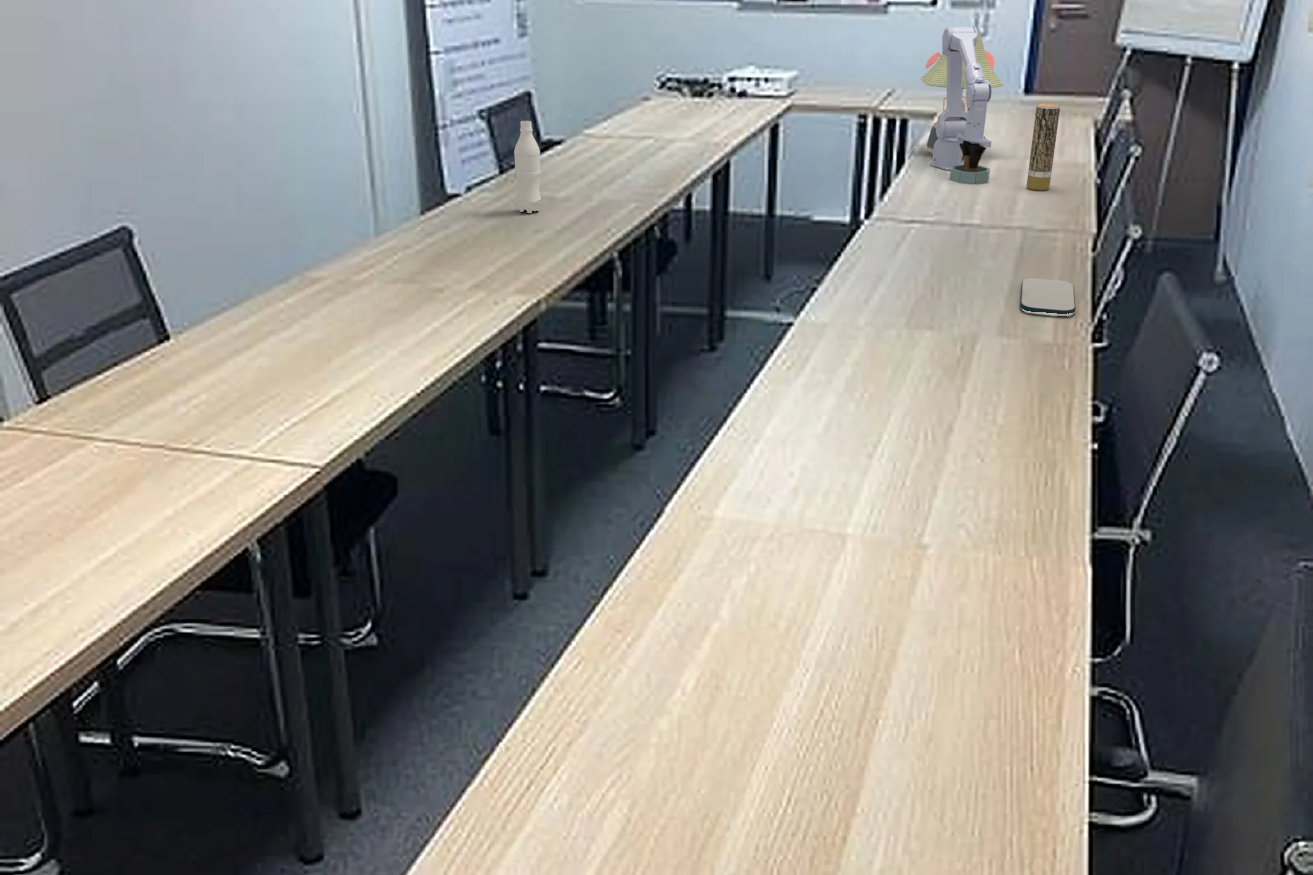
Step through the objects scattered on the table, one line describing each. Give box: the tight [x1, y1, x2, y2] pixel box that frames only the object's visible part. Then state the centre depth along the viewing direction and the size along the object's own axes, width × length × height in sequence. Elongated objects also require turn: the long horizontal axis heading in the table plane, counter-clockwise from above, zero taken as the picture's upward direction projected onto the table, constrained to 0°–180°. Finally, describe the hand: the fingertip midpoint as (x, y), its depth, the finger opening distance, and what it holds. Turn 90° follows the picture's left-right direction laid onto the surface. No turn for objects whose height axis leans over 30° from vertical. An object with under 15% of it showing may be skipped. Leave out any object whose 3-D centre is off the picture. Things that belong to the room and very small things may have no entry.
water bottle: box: [513, 120, 542, 202], centre depth 346 cm, size 7×7×25 cm
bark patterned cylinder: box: [1026, 103, 1061, 192], centre depth 376 cm, size 7×7×25 cm
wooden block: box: [963, 155, 978, 172], centre depth 390 cm, size 2×4×7 cm, turn 115°
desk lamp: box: [920, 32, 1004, 160], centre depth 419 cm, size 26×28×42 cm
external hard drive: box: [1019, 277, 1076, 314], centre depth 277 cm, size 24×12×2 cm, turn 164°
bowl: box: [949, 164, 991, 185], centre depth 391 cm, size 12×12×4 cm
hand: (970, 166), depth 390 cm, fingers open, 2 cm apart
